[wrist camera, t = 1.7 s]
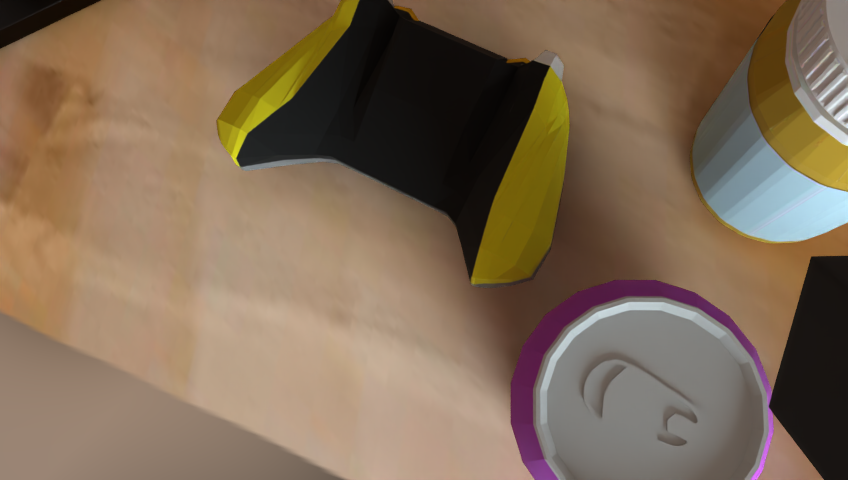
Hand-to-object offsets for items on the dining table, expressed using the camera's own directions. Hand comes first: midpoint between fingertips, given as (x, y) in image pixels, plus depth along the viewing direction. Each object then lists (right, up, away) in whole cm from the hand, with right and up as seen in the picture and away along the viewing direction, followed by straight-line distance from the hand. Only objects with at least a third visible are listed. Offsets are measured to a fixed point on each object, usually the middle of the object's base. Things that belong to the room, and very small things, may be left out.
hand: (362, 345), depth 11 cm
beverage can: (+9, -5, +22) cm, 24 cm away
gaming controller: (+1, +6, +25) cm, 25 cm away
